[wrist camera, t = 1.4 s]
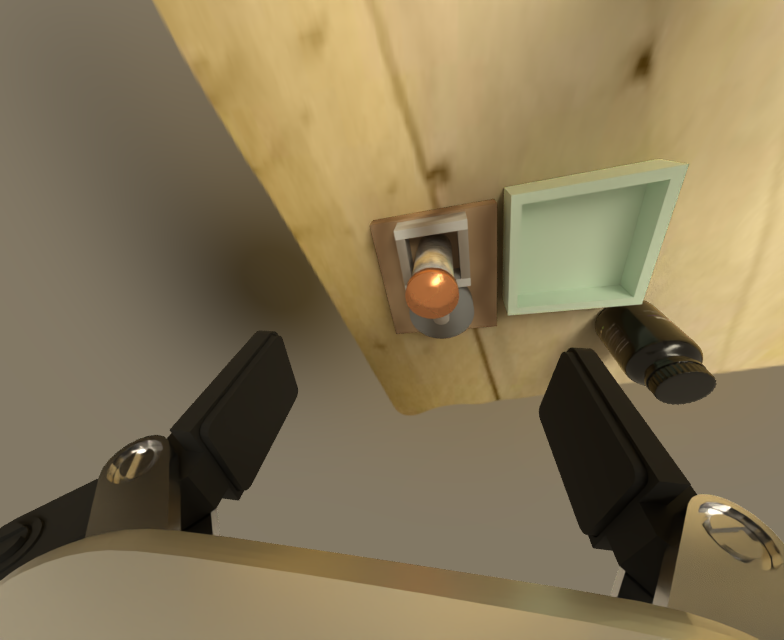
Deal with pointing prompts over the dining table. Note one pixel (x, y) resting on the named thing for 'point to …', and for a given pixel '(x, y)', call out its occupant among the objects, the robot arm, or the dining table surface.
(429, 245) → the jar with copper lid
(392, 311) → the wooden stand
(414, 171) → the dining table surface
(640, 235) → the tray
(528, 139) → the dining table surface
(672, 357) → the supplement bottle
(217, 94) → the dining table surface
